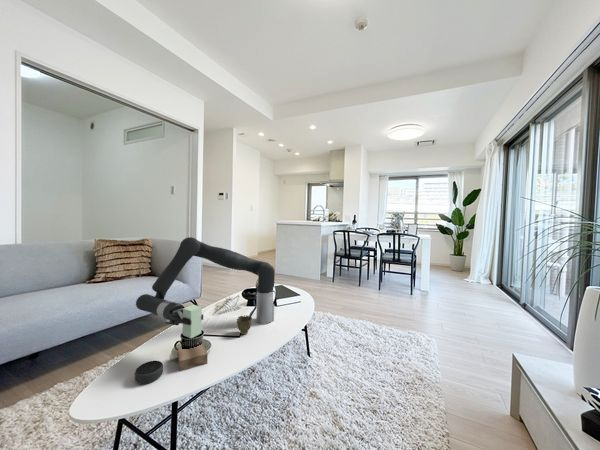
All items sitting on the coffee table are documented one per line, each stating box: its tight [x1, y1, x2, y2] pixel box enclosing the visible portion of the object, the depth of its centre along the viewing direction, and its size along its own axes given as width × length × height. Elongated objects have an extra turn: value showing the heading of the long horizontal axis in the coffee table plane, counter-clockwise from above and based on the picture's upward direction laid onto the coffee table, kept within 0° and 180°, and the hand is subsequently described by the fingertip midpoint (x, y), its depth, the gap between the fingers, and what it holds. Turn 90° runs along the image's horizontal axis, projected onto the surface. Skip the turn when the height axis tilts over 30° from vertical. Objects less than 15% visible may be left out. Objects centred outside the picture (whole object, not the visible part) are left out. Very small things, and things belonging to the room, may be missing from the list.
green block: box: [182, 304, 203, 339], centre depth 99 cm, size 5×5×11 cm
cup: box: [236, 315, 253, 336], centre depth 124 cm, size 8×7×8 cm
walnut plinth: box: [177, 342, 208, 372], centre depth 100 cm, size 10×10×4 cm
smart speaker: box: [134, 360, 164, 385], centre depth 90 cm, size 9×9×4 cm
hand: (196, 319), depth 98 cm, fingers closed on green block, 5 cm apart
